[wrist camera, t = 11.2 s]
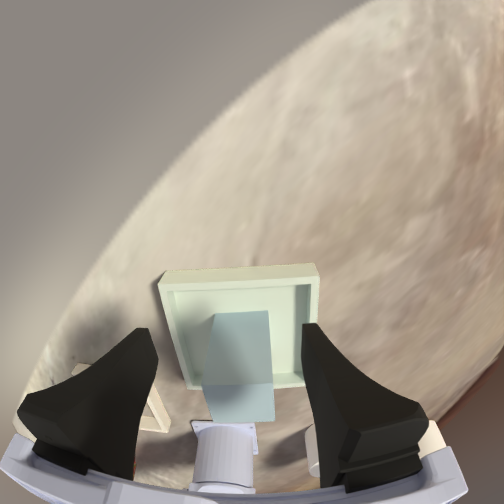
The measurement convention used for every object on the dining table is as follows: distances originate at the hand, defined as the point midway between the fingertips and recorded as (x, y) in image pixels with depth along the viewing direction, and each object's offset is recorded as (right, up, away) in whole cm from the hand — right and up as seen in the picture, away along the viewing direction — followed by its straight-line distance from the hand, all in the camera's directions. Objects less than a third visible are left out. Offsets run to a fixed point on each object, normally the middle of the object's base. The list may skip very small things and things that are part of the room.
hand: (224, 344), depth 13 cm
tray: (+1, -3, +12) cm, 13 cm away
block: (+1, -3, +12) cm, 12 cm away
